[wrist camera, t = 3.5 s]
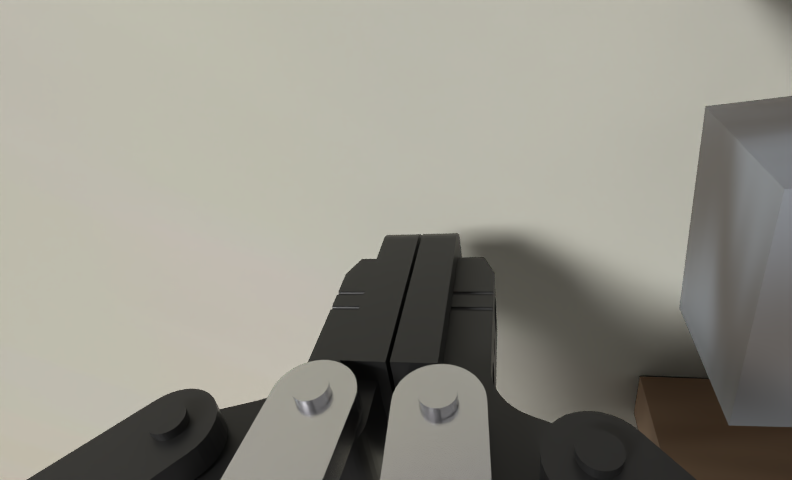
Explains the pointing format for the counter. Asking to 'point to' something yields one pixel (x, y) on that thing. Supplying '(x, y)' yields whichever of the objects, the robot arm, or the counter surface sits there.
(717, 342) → the block
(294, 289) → the counter surface
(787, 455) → the track
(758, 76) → the counter surface
